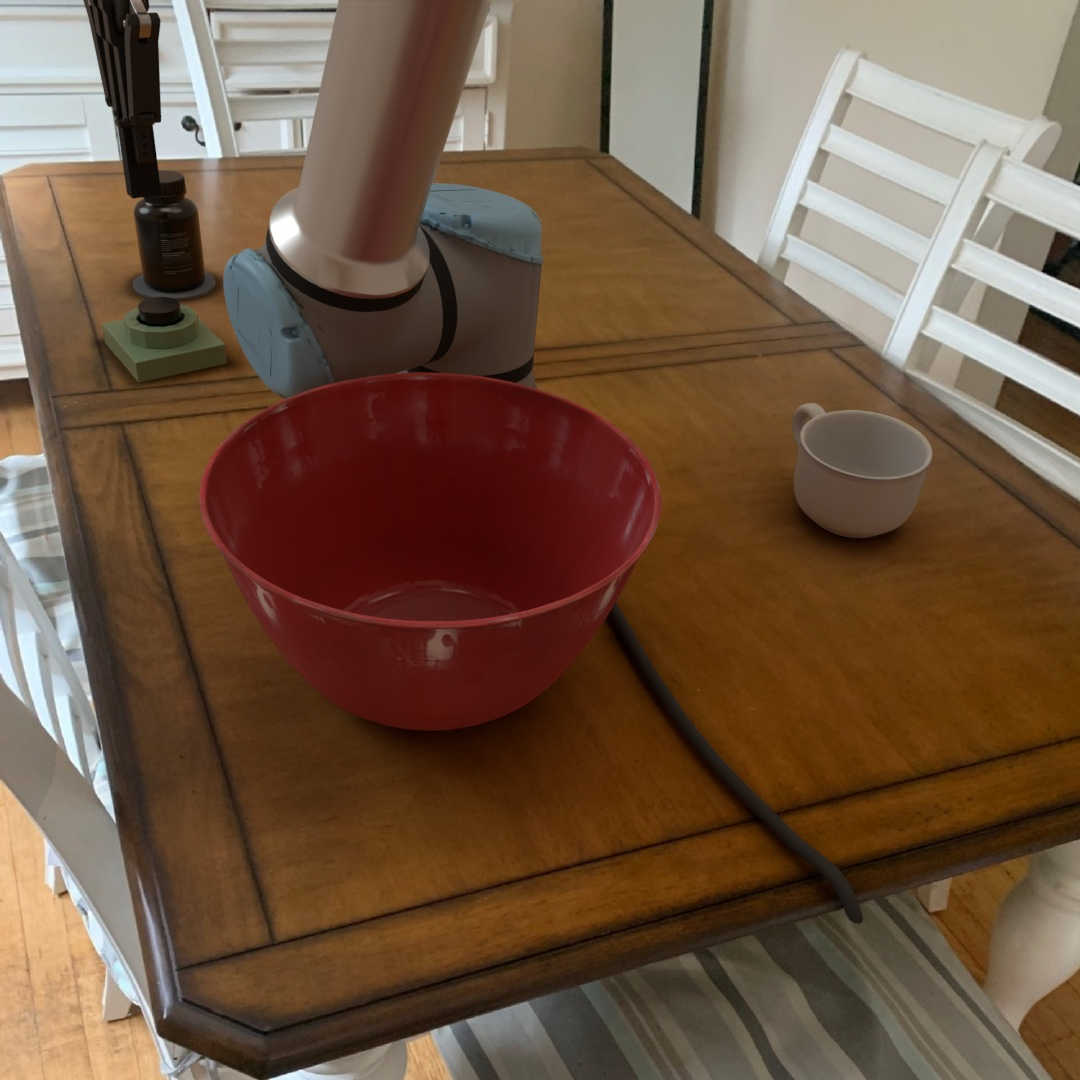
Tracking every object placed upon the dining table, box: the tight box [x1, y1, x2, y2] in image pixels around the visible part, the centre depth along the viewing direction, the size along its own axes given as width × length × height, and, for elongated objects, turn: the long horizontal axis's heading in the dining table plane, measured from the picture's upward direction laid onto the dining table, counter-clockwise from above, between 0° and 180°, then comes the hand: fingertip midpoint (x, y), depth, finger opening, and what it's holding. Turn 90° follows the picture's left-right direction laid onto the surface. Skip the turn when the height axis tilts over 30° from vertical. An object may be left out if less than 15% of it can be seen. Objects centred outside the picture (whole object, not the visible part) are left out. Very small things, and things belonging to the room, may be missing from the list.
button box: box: [101, 304, 228, 384], centre depth 114 cm, size 10×9×4 cm
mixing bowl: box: [198, 372, 663, 731], centre depth 75 cm, size 28×28×16 cm
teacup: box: [791, 402, 933, 539], centre depth 97 cm, size 14×11×8 cm
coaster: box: [132, 271, 217, 302], centre depth 128 cm, size 9×9×1 cm
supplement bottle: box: [132, 169, 206, 292], centre depth 125 cm, size 7×7×12 cm
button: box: [137, 297, 182, 327], centre depth 112 cm, size 4×4×2 cm
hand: (144, 194), depth 105 cm, fingers closed
